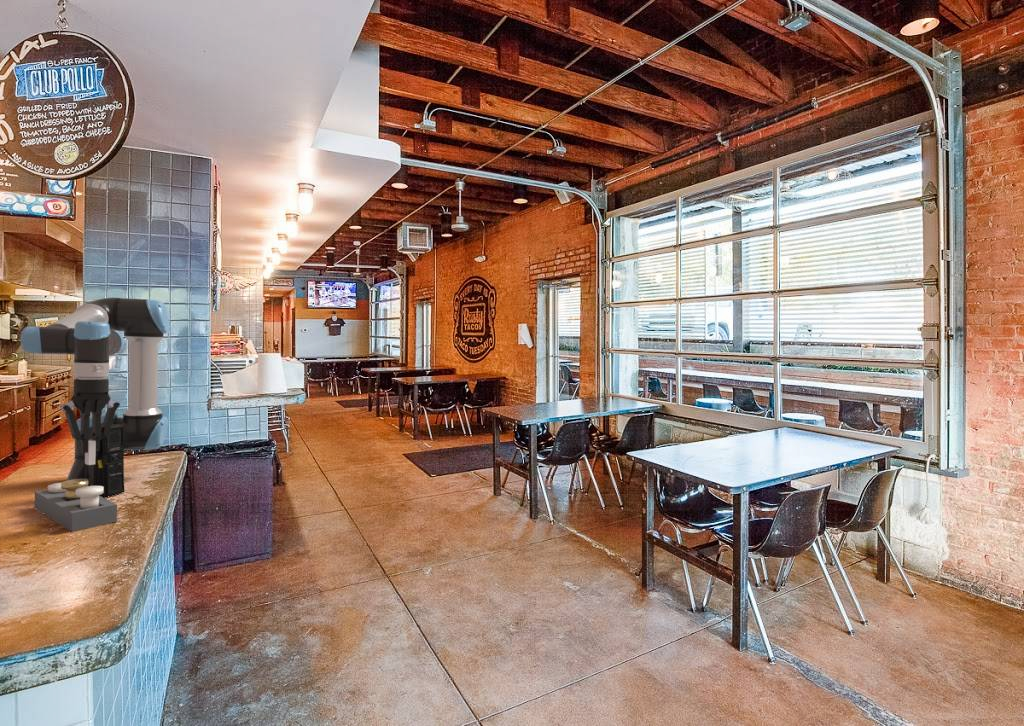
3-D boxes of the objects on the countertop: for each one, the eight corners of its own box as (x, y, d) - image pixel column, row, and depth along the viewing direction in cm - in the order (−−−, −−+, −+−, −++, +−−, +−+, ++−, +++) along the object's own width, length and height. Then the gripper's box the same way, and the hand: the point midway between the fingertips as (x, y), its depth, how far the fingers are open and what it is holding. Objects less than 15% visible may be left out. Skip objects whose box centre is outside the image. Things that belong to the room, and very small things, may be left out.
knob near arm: (69, 501, 161) (70, 481, 161) (77, 505, 158) (77, 484, 157) (44, 505, 156) (44, 484, 156) (51, 509, 153) (51, 488, 152)
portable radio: (103, 499, 165) (104, 420, 165) (87, 497, 167) (88, 419, 166) (126, 492, 173) (127, 417, 172) (111, 490, 174) (112, 416, 173)
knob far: (98, 506, 149) (98, 484, 148) (107, 510, 145) (107, 488, 145) (71, 511, 144) (72, 488, 143) (80, 516, 140) (80, 493, 140)
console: (76, 500, 163) (76, 484, 163) (116, 522, 147) (117, 504, 146) (34, 508, 155) (34, 491, 155) (71, 531, 138) (72, 513, 138)
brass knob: (83, 498, 155) (83, 477, 155) (91, 502, 151) (91, 481, 151) (57, 503, 150) (57, 481, 150) (65, 507, 146) (65, 485, 146)
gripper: (66, 379, 136) (65, 470, 136) (125, 378, 147) (123, 462, 147) (56, 377, 140) (54, 465, 141) (114, 376, 151) (112, 458, 151)
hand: (90, 463), depth 144 cm, fingers closed
